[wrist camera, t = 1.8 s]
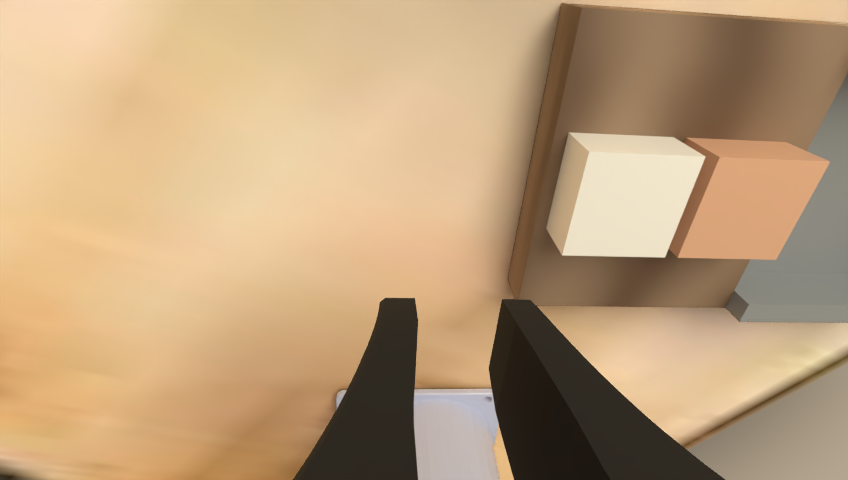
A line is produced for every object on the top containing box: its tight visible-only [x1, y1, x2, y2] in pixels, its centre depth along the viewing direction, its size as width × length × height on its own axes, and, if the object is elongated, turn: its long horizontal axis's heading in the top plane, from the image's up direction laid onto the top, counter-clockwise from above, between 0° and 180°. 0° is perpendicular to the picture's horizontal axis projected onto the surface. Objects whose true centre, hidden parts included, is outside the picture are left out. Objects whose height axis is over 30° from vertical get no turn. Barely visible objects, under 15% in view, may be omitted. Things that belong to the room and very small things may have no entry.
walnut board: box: [508, 3, 848, 308], centre depth 19 cm, size 10×12×2 cm
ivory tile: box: [546, 132, 706, 258], centre depth 17 cm, size 4×4×2 cm
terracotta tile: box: [669, 138, 830, 260], centre depth 17 cm, size 4×4×2 cm
